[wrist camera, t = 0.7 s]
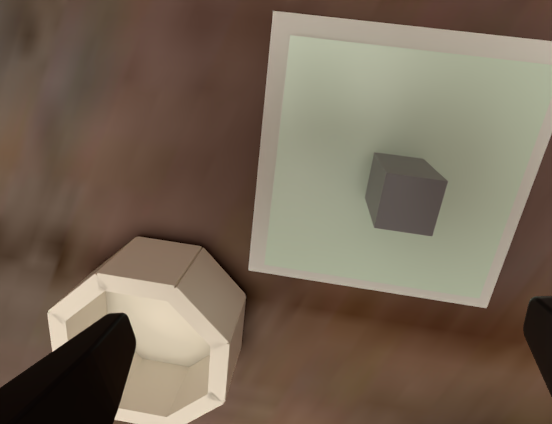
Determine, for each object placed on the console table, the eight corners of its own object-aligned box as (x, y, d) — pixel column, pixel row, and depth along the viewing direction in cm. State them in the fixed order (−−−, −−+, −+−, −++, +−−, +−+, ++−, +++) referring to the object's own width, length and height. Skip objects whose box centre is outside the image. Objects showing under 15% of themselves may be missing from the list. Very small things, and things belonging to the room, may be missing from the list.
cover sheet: (552, 66, 17) (631, 65, 13) (474, 290, 22) (512, 348, 17) (291, 36, 18) (280, 26, 14) (266, 258, 23) (251, 304, 18)
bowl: (251, 250, 23) (233, 295, 19) (239, 375, 27) (221, 440, 22) (95, 225, 24) (41, 263, 19) (104, 351, 28) (59, 409, 23)
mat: (576, 45, 17) (584, 44, 17) (482, 302, 23) (486, 308, 22) (274, 12, 18) (273, 10, 18) (250, 265, 24) (248, 270, 23)
